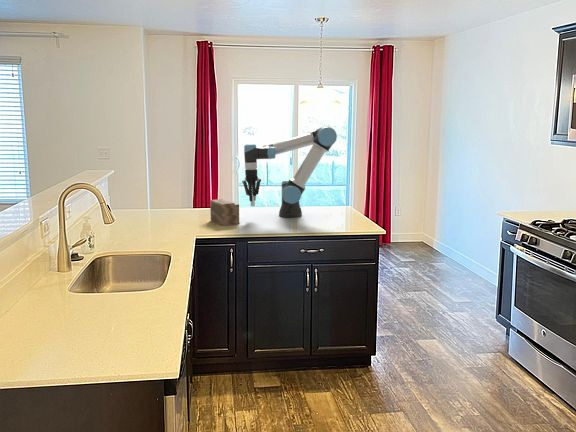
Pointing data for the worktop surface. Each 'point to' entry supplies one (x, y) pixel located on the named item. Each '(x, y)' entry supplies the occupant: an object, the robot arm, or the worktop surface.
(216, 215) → the brown patterned block
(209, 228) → the worktop surface
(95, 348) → the worktop surface
